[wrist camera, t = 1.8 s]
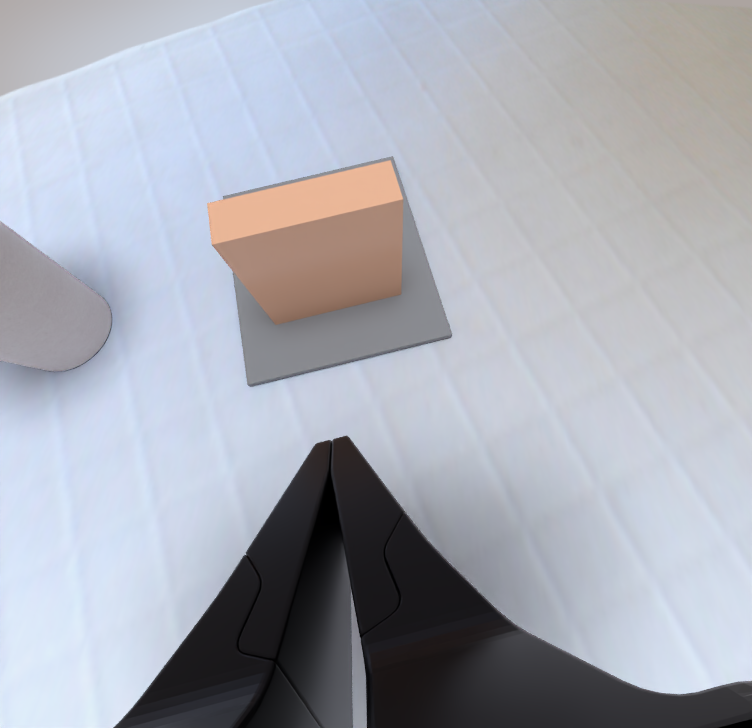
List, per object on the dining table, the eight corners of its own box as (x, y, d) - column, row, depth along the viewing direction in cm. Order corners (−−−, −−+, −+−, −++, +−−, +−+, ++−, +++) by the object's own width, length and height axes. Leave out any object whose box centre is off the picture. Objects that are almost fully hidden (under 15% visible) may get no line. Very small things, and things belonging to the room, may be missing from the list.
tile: (401, 294, 25) (403, 199, 16) (275, 324, 25) (211, 244, 16) (392, 263, 26) (389, 157, 17) (270, 293, 26) (206, 200, 17)
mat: (451, 337, 24) (452, 334, 24) (250, 386, 24) (247, 384, 24) (393, 161, 29) (393, 156, 29) (225, 200, 29) (223, 196, 29)
